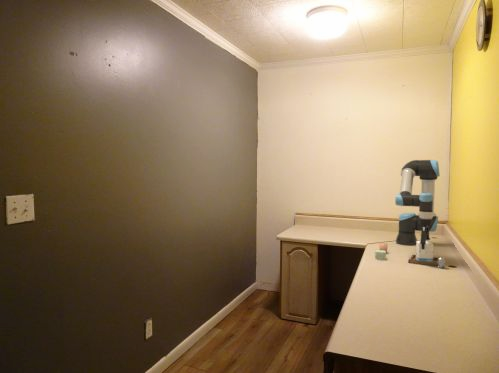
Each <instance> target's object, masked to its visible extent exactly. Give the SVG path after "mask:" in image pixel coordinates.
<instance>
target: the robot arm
mask: <svg viewBox="0 0 499 373" xmlns="http://www.w3.org/2000/svg"><path fill="white" fill-rule="evenodd" d="M400 176H401V180H400V188H399V193H398V194H395V201H394V202H395V203H394V204H395V205H396V206H398V207H399V206H401V207H418V209H419V211H418V212H417V214H416V213H415V212H403V213H400V214H399V215H398V234H397V237H396V239H395V243H396V244H398V245H402V246H403V245H404V246H416V241H418V239H417V236H416V231H418V232H421V234H420V241H421V242H420V244H421V254H423V255H426V241H428V242H430V240H431V238H430V232H431V233H432V232H435V231H436V230H437V228H438V223H439V216H437V213H436V212H435V190H436V188H435V187H436V186H435V185H436V184H435V183H436V181H437V180H438V177H440V166H439V161H438V160H435V159H413V160H410V161H409V162H407V163H406V164H404V165H403V167H402V168H401V171H400ZM415 177H418V178H419V180H420V181H421V191H420V192H421V193H420V194H413V185H414V178H415Z"/></svg>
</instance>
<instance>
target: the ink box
mask: <svg viewBox="0 0 499 373" xmlns="http://www.w3.org/2000/svg"><path fill="white" fill-rule="evenodd" d="M420 242H421V240H417V241H416V245H415V255H416V260H417V261H425V262H432V263H433V257H434V243H432V242H431V241H429V242H428V241H426V255H423V254H421V244H420Z"/></svg>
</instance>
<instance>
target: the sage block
mask: <svg viewBox="0 0 499 373" xmlns="http://www.w3.org/2000/svg"><path fill="white" fill-rule="evenodd" d="M374 258H375V260H376V259H377V261H379V260H380V261H386V259H387V254H386V252H385V250H380V249H374Z"/></svg>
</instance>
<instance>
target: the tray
mask: <svg viewBox="0 0 499 373" xmlns="http://www.w3.org/2000/svg"><path fill="white" fill-rule="evenodd" d="M407 261H408V263H409V264H416V265H420V266H429V267H434V268H435V267H436V268H438V257H436V256H433V263H432V262H425V261H417V260H416V254H412V255H411V256H410V257H409V258H408V260H407Z"/></svg>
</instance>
